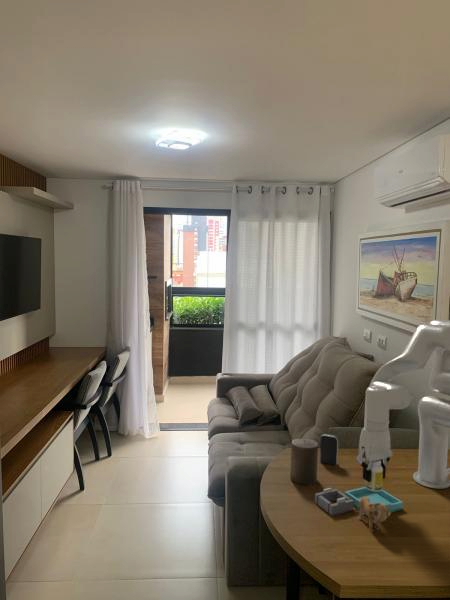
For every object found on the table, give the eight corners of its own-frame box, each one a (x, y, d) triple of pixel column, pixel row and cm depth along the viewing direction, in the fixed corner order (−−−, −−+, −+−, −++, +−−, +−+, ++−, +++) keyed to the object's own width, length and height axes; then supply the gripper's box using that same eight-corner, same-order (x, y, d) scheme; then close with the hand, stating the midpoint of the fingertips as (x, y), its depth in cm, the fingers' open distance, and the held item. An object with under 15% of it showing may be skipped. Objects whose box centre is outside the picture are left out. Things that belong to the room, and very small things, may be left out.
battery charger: (339, 462, 180) (340, 434, 179) (336, 466, 177) (337, 437, 176) (322, 458, 183) (322, 431, 183) (319, 462, 180) (320, 434, 179)
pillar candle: (311, 487, 158) (313, 446, 158) (286, 480, 163) (287, 440, 163) (320, 477, 167) (321, 438, 166) (295, 471, 172) (297, 432, 171)
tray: (373, 491, 157) (374, 484, 157) (402, 509, 145) (403, 502, 145) (344, 498, 151) (344, 491, 151) (372, 517, 139) (372, 510, 139)
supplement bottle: (383, 486, 149) (384, 457, 148) (381, 493, 144) (382, 464, 144) (366, 483, 151) (367, 454, 151) (363, 490, 146) (365, 460, 146)
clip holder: (335, 497, 152) (336, 485, 152) (353, 509, 144) (354, 497, 144) (314, 502, 148) (315, 490, 148) (331, 515, 140) (332, 502, 140)
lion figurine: (392, 535, 130) (394, 505, 130) (377, 538, 129) (378, 508, 128) (361, 510, 144) (362, 483, 144) (347, 512, 142) (348, 485, 142)
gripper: (387, 418, 153) (385, 469, 155) (347, 424, 146) (345, 478, 147) (404, 425, 147) (401, 478, 148) (364, 432, 139) (361, 488, 141)
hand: (373, 477), depth 148 cm, fingers closed on supplement bottle, 5 cm apart
